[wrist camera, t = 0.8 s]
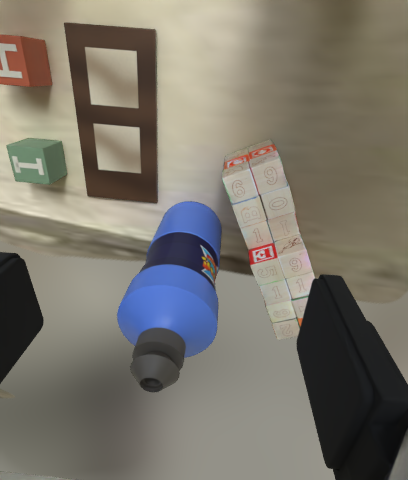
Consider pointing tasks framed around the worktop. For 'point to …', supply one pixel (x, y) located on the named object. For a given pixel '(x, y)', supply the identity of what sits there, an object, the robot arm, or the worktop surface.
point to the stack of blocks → (270, 233)
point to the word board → (116, 108)
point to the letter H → (23, 61)
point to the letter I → (37, 160)
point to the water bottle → (173, 296)
